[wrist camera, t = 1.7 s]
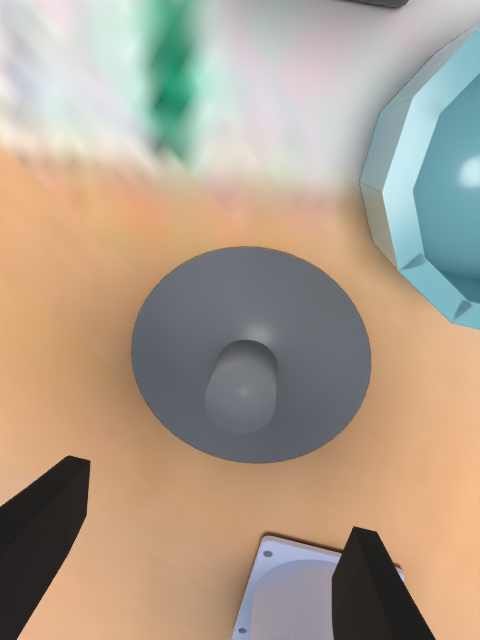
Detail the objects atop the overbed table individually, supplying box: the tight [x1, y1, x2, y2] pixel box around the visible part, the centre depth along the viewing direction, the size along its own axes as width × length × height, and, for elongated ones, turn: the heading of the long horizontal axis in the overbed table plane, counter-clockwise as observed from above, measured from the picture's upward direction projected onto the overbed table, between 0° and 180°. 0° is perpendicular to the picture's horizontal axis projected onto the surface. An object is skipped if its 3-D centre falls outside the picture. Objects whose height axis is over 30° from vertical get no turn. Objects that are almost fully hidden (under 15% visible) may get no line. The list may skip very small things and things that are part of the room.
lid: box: [131, 247, 371, 463], centre depth 18 cm, size 11×11×4 cm
